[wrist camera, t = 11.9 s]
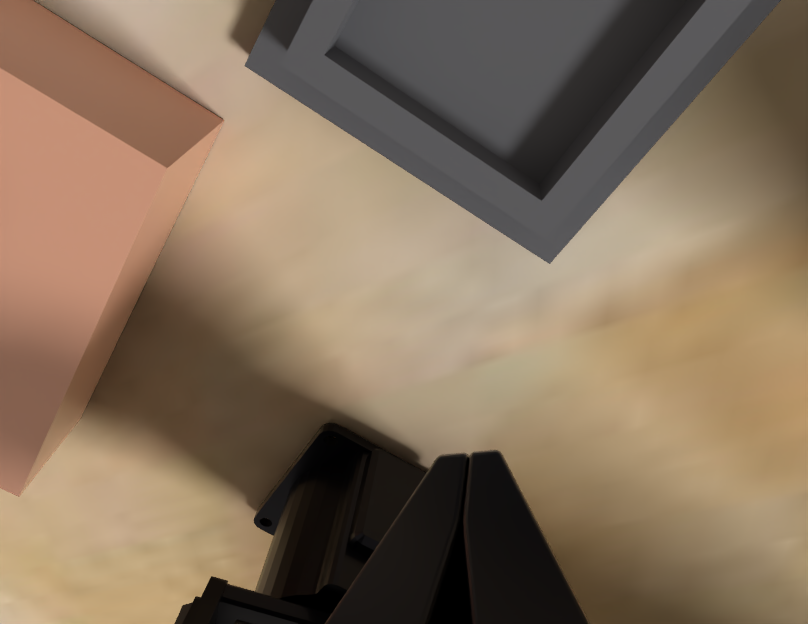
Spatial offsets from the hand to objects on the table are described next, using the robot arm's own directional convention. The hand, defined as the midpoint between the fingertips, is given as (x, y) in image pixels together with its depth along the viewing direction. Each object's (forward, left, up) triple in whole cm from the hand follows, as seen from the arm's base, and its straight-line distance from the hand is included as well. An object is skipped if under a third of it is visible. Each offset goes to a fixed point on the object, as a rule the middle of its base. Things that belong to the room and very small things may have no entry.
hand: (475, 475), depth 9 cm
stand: (+4, +2, -12) cm, 13 cm away
